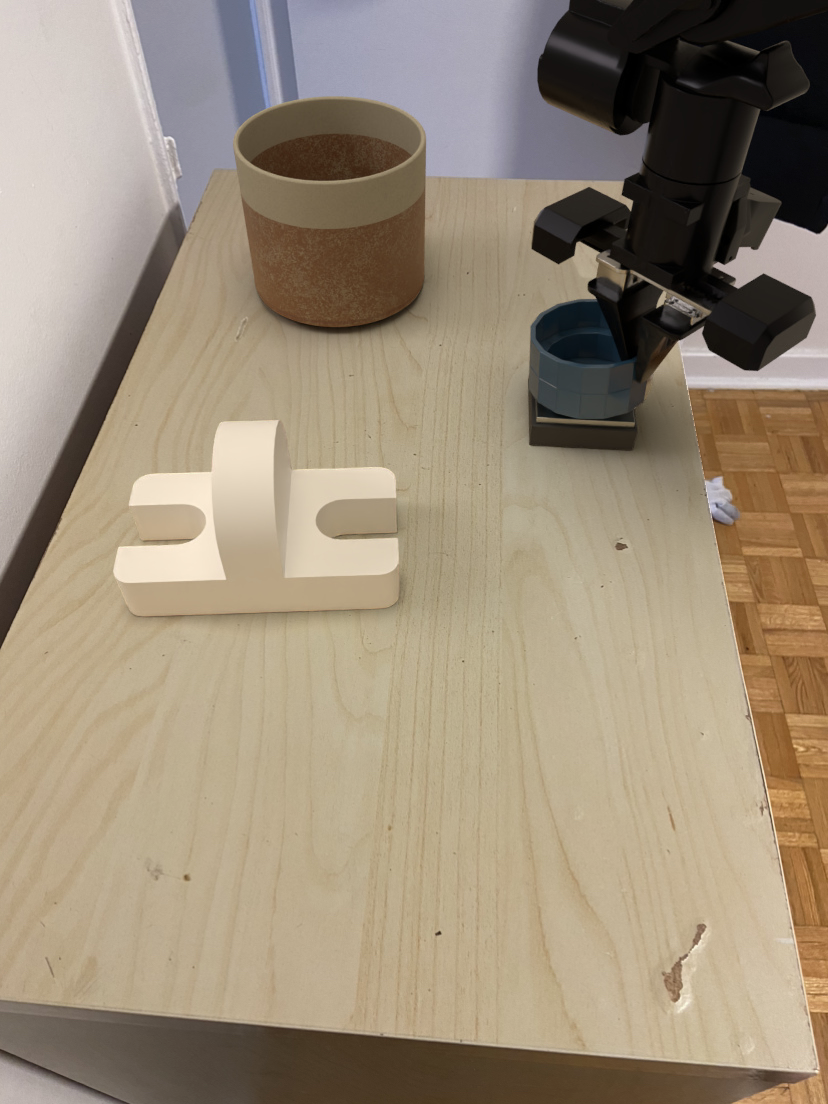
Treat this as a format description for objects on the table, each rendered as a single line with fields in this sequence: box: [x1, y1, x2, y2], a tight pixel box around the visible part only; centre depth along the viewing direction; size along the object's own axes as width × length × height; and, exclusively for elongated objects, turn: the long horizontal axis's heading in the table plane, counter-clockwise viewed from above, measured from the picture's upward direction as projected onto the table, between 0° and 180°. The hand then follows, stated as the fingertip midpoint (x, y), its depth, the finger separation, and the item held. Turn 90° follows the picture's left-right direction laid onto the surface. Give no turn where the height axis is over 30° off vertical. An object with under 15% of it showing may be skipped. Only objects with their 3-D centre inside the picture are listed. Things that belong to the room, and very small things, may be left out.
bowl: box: [528, 298, 654, 419], centre depth 64 cm, size 9×9×5 cm
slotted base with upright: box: [112, 419, 400, 617], centre depth 54 cm, size 10×18×11 cm, turn 92°
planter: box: [232, 95, 427, 328], centre depth 74 cm, size 16×16×14 cm
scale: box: [527, 376, 639, 451], centre depth 67 cm, size 8×8×3 cm
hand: (637, 377), depth 61 cm, fingers closed on bowl
